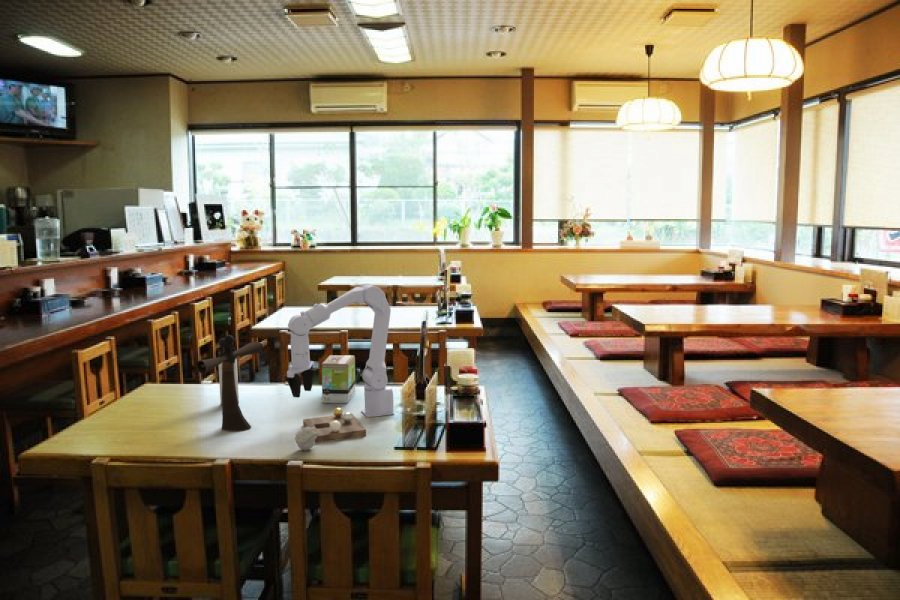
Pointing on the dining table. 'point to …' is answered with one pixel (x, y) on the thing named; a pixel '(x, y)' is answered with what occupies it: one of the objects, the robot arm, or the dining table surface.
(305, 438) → the grey rounded lump
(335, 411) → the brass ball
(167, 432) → the dining table surface
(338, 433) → the walnut board
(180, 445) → the dining table surface
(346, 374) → the tea box
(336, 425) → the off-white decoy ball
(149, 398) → the dining table surface
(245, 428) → the t-shaped wooden sculpture
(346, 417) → the steel ball
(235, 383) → the travel mug
